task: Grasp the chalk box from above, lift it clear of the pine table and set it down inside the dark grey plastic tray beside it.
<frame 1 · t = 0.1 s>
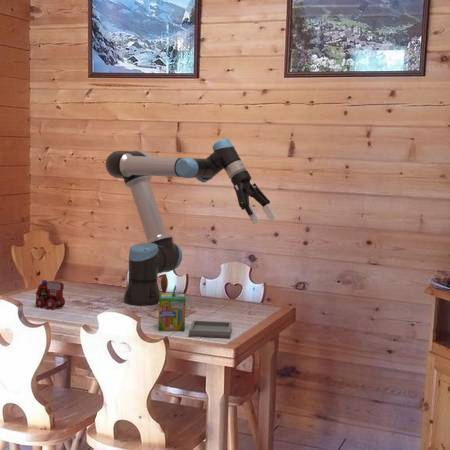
hand: (265, 221, 262), 36 cm above the table, tool tilted 35°, fingers open, 13 cm apart
tray: (210, 332, 233), on the table
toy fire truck: (49, 307, 263), on the table
chalk box: (171, 328, 238), on the table
hand bell: (163, 317, 254), on the table
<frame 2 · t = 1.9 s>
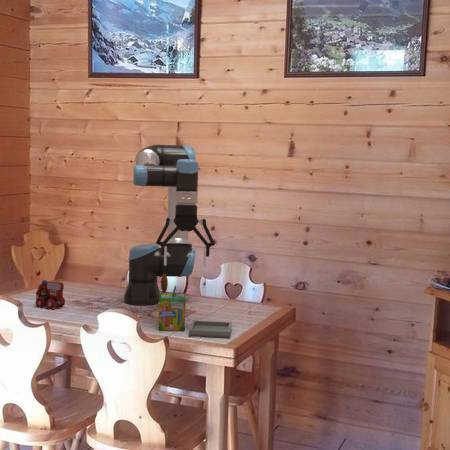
hand: (184, 265, 237), 22 cm above the table, tool pointing down, fingers open, 13 cm apart
nothing on the table moved.
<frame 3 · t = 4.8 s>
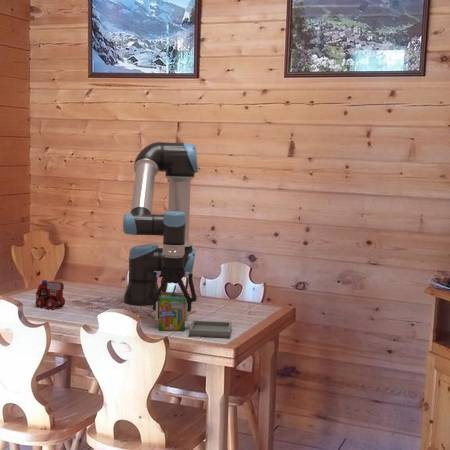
hand: (171, 320, 238), 3 cm above the table, tool pointing down, fingers closed on chalk box, 9 cm apart
chalk box: (171, 328, 238), on the table, touching gripper
everything else where it was.
when the fingers open (5 cm above the table, at t = 10.9 s): chalk box drops 2 cm, resting on tray.
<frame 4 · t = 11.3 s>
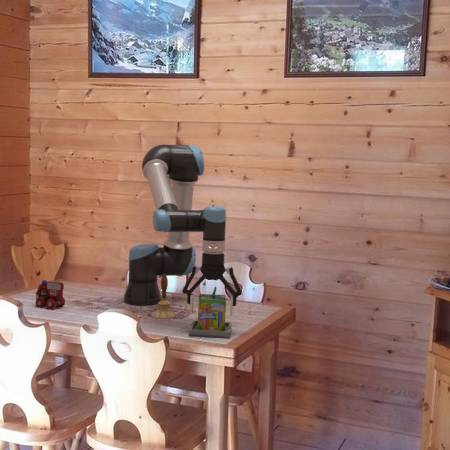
hand: (211, 314, 233), 6 cm above the table, tool pointing down, fingers open, 13 cm apart
chalk box: (211, 330, 233), point 1 cm above the table, touching tray
everything else where it was.
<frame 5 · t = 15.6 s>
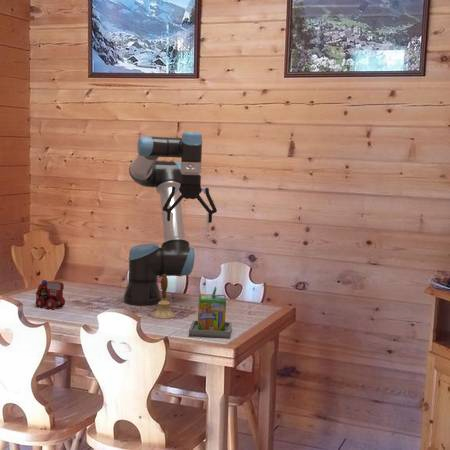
hand: (189, 230, 257), 32 cm above the table, tool pointing down, fingers open, 13 cm apart
nothing on the table moved.
at the end: chalk box inside the target area on the tray (0.1 cm from its centre), point 0.6 cm above the tray's base; chalk box tilted 0°; the gripper is holding nothing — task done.
